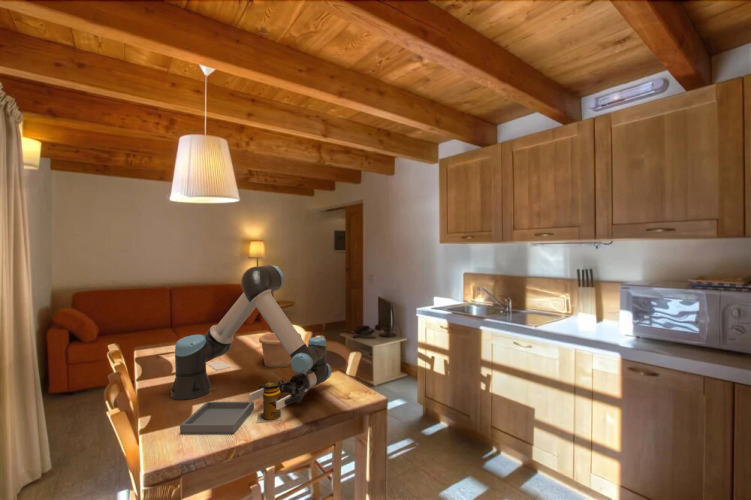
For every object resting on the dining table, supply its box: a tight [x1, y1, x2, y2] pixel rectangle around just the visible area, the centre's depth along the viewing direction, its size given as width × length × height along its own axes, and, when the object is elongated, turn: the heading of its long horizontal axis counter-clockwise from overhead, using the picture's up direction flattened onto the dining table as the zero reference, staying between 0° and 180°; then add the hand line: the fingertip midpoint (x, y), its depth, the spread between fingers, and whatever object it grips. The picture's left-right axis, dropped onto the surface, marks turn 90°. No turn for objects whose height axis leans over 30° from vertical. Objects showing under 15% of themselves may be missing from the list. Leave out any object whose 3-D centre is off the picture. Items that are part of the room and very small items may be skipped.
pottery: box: [258, 332, 302, 369], centre depth 189 cm, size 22×22×14 cm
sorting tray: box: [179, 400, 255, 435], centre depth 126 cm, size 18×18×3 cm
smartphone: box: [206, 360, 231, 372], centre depth 186 cm, size 7×1×15 cm
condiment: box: [255, 381, 283, 424], centre depth 128 cm, size 7×8×12 cm
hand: (262, 402), depth 125 cm, fingers open, 13 cm apart
